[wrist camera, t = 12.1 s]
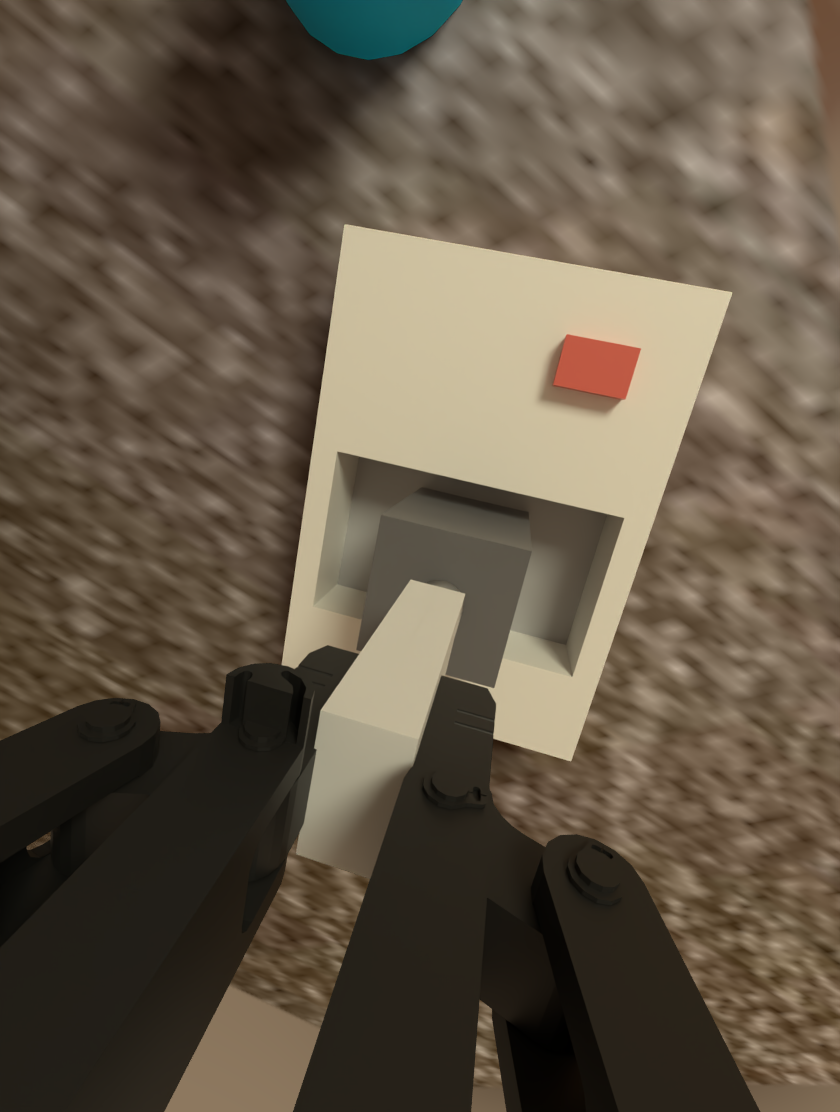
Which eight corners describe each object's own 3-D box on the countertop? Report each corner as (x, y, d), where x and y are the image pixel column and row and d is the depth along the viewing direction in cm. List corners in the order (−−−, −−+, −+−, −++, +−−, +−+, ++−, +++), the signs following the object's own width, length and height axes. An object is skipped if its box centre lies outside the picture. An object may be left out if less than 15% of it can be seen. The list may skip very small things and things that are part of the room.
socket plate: (310, 643, 27) (272, 683, 23) (372, 254, 21) (337, 216, 17) (564, 715, 25) (572, 772, 21) (697, 313, 20) (741, 286, 16)
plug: (421, 487, 23) (362, 527, 14) (528, 512, 22) (533, 569, 14) (401, 586, 24) (336, 677, 16) (501, 613, 24) (490, 721, 15)
